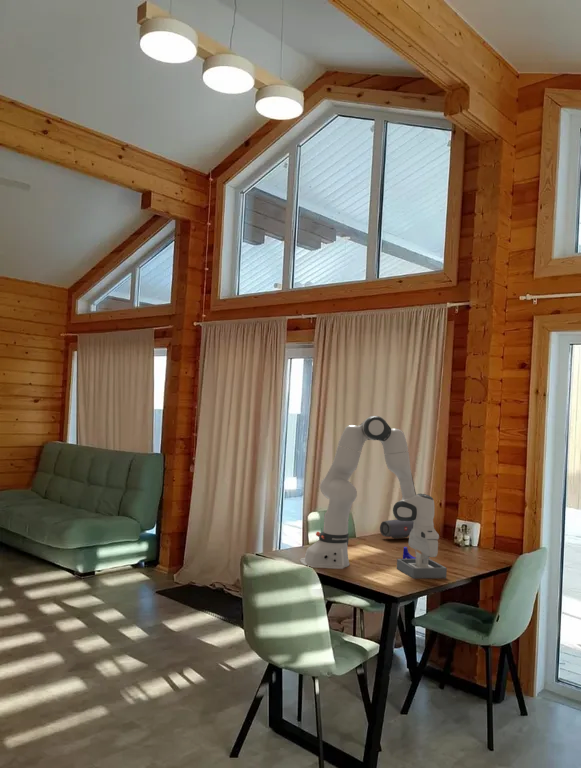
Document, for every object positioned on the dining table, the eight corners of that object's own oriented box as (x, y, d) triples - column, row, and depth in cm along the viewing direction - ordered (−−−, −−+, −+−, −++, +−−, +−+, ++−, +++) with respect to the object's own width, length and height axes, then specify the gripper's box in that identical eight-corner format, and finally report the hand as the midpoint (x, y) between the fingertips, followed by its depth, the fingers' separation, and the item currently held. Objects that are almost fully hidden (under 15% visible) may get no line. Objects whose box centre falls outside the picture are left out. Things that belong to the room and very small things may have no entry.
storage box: (413, 580, 280) (413, 568, 280) (396, 570, 295) (397, 559, 295) (446, 579, 285) (446, 568, 285) (428, 569, 300) (428, 558, 300)
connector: (419, 569, 288) (420, 551, 288) (415, 567, 292) (416, 549, 292) (427, 569, 289) (428, 551, 289) (423, 566, 293) (424, 548, 293)
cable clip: (402, 561, 313) (403, 548, 313) (403, 559, 317) (404, 546, 317) (428, 564, 310) (428, 551, 310) (428, 562, 314) (429, 549, 314)
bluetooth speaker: (389, 540, 355) (390, 522, 355) (378, 536, 363) (379, 518, 363) (420, 537, 367) (421, 519, 367) (409, 534, 375) (410, 516, 375)
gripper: (406, 526, 299) (404, 556, 299) (428, 536, 280) (426, 568, 280) (418, 525, 301) (416, 555, 301) (441, 536, 282) (439, 568, 282)
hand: (421, 562), depth 290 cm, fingers closed on connector, 4 cm apart
